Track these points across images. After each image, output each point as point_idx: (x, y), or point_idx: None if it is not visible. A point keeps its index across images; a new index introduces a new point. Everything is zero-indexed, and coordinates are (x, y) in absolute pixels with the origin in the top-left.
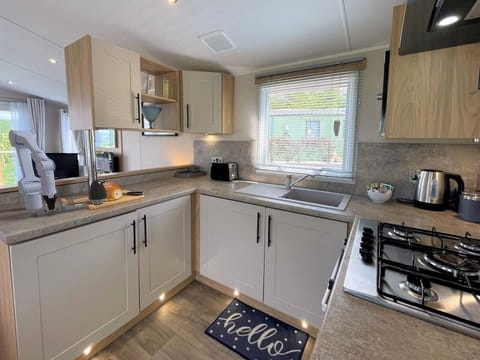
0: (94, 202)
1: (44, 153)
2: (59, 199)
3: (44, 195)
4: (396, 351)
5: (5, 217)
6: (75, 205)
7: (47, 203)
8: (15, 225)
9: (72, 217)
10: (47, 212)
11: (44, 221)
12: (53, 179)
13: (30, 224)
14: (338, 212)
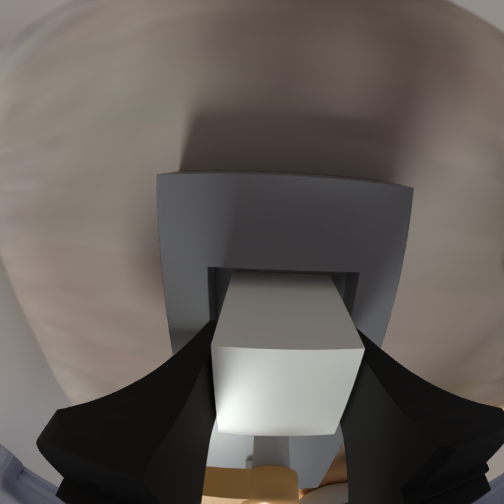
0: (309, 498)
1: None
2: (267, 493)
3: (476, 459)
4: None
5: (455, 7)
6: (247, 468)
7: (147, 381)
8: (114, 24)
9: (88, 373)
10: (177, 285)
11: (73, 218)
12: None
13: (60, 123)
14: None
